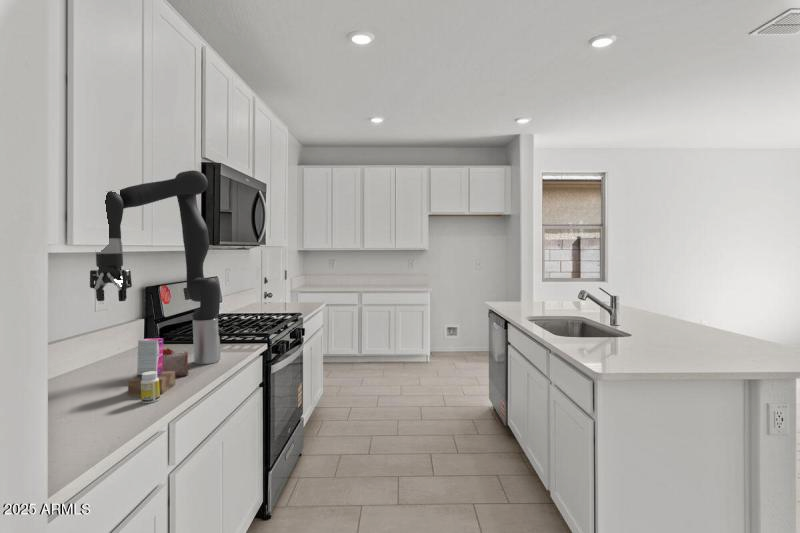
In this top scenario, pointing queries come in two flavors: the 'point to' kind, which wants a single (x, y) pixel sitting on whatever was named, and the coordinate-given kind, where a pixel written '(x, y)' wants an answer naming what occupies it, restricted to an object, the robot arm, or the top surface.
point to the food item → (175, 362)
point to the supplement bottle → (150, 387)
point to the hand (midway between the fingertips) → (111, 301)
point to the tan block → (164, 383)
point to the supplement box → (150, 355)
